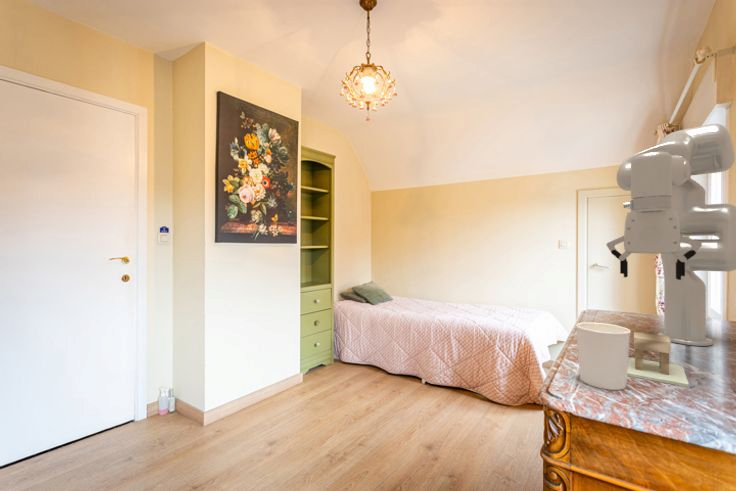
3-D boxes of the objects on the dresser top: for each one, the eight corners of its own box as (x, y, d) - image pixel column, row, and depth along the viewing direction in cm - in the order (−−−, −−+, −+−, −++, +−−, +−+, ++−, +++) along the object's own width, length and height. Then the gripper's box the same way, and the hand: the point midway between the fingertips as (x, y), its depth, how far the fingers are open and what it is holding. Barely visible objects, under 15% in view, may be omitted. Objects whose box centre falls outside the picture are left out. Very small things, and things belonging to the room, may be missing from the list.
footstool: (633, 369, 80) (633, 337, 80) (634, 361, 85) (633, 332, 85) (670, 375, 76) (670, 342, 76) (668, 367, 81) (668, 336, 81)
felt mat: (620, 358, 90) (620, 356, 90) (682, 368, 82) (682, 366, 82) (618, 373, 79) (618, 371, 79) (689, 387, 72) (689, 384, 72)
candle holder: (566, 377, 77) (565, 324, 77) (594, 371, 81) (594, 320, 81) (611, 395, 68) (611, 335, 68) (641, 387, 72) (641, 330, 72)
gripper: (605, 207, 83) (605, 277, 83) (704, 201, 72) (704, 281, 72) (607, 209, 89) (607, 275, 89) (699, 204, 78) (699, 278, 78)
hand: (651, 278), depth 81 cm, fingers open, 9 cm apart
